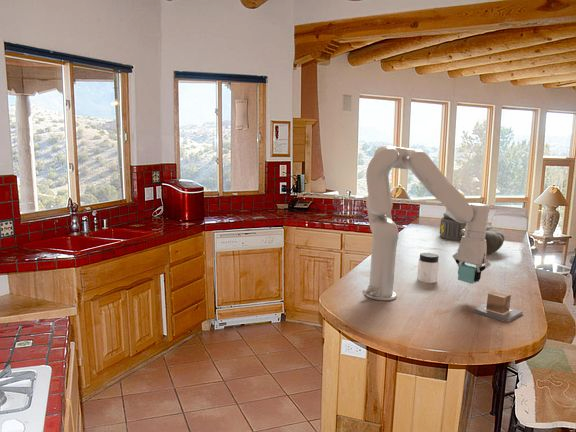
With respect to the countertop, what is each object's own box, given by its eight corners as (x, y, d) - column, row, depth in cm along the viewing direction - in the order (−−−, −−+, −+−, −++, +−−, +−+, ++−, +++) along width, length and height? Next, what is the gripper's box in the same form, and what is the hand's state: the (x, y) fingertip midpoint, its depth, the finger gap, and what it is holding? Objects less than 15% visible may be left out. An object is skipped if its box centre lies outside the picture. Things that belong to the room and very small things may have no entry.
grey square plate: (507, 322, 171) (508, 318, 171) (472, 311, 181) (473, 308, 181) (522, 314, 180) (522, 310, 180) (488, 304, 190) (488, 301, 189)
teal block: (471, 283, 188) (473, 269, 187) (457, 279, 193) (459, 265, 192) (479, 281, 192) (481, 267, 191) (464, 277, 197) (466, 263, 196)
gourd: (496, 243, 291) (498, 216, 285) (510, 260, 267) (512, 231, 262) (454, 245, 294) (454, 218, 288) (463, 262, 271) (464, 233, 265)
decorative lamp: (433, 235, 324) (437, 190, 319) (456, 234, 329) (461, 190, 324) (450, 241, 306) (455, 194, 301) (475, 240, 312) (480, 194, 307)
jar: (414, 280, 217) (416, 255, 215) (419, 276, 224) (421, 251, 222) (434, 284, 213) (437, 258, 211) (439, 280, 220) (441, 254, 218)
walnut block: (502, 313, 176) (504, 297, 175) (486, 308, 180) (487, 293, 179) (509, 310, 180) (511, 294, 179) (493, 305, 184) (495, 290, 183)
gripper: (450, 231, 193) (444, 274, 196) (492, 240, 181) (485, 286, 184) (459, 229, 198) (453, 271, 201) (500, 238, 186) (493, 283, 189)
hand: (468, 278), depth 192 cm, fingers closed on teal block, 6 cm apart
